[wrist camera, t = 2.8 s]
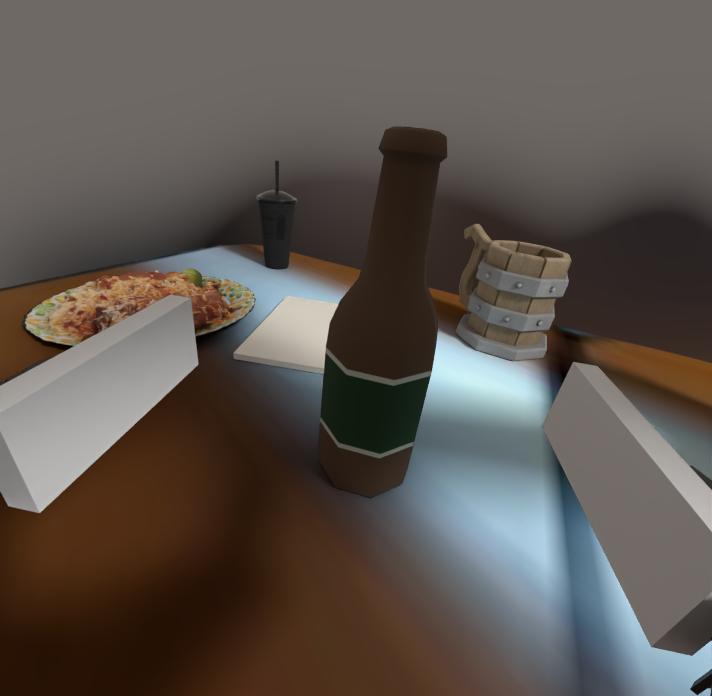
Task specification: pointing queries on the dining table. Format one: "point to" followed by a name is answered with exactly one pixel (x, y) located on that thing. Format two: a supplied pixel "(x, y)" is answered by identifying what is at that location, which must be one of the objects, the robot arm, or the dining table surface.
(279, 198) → the drinking cup
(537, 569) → the dining table surface
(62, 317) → the rice dish
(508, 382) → the dining table surface
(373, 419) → the beer bottle
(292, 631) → the dining table surface
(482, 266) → the tankard
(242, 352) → the square board
